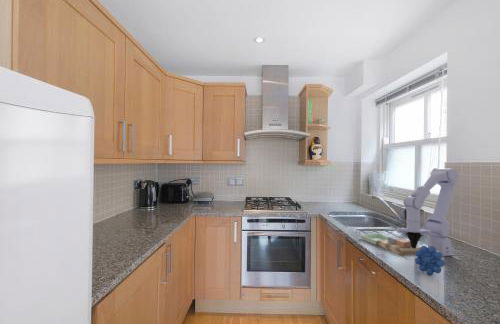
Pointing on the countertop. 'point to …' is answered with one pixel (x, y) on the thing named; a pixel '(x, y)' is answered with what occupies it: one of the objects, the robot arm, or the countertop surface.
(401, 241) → the terracotta tile
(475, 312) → the countertop surface
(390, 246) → the birch board
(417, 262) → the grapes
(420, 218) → the coffee box
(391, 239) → the slate tile
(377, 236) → the tray
